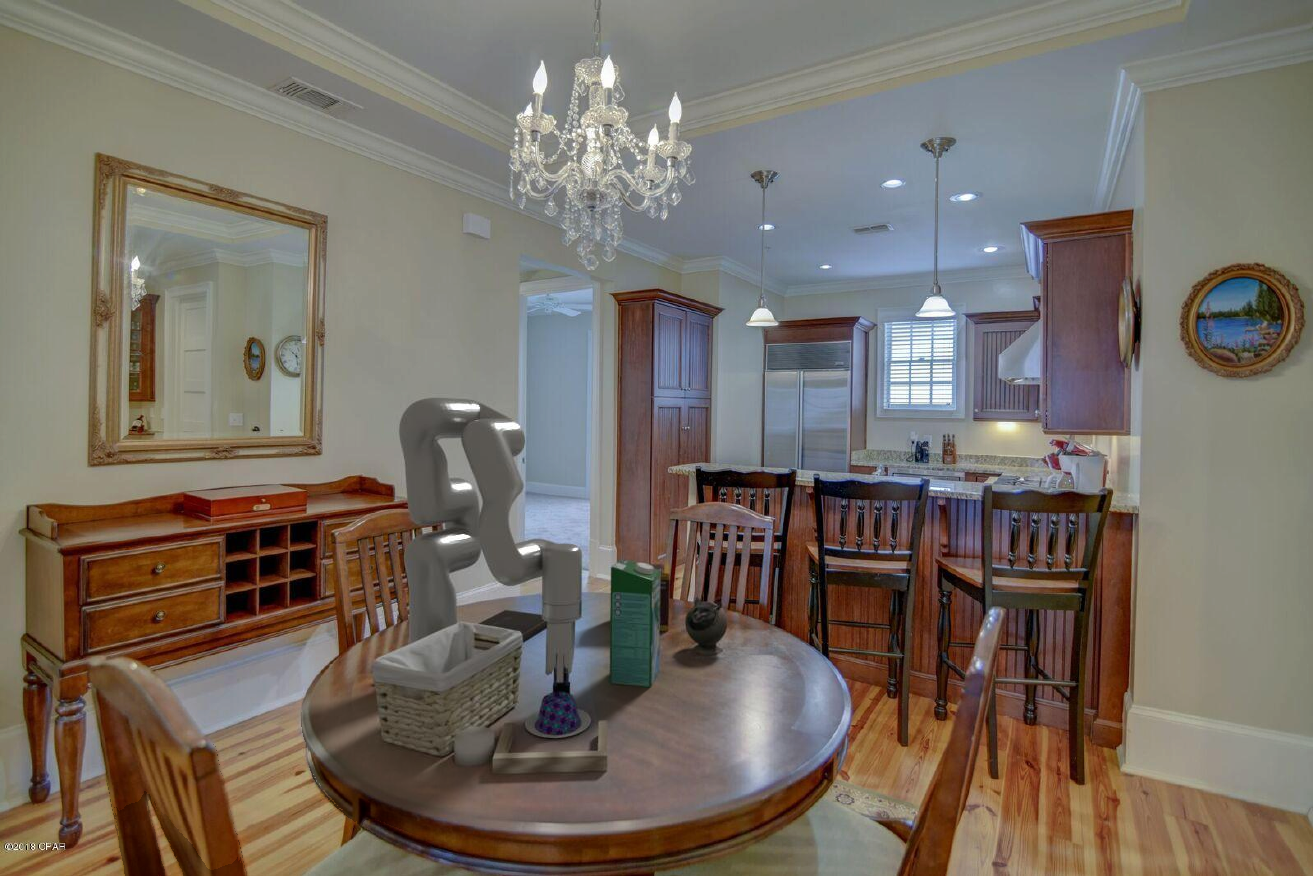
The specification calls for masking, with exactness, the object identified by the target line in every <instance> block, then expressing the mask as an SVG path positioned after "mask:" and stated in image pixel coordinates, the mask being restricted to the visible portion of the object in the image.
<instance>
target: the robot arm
mask: <svg viewBox="0 0 1313 876" xmlns="http://www.w3.org/2000/svg"><path fill="white" fill-rule="evenodd" d="M398 428H399V429H398V434H399V440H400V446H401V451H402V454H403V460H404V469H405V471H404V472H405V474H404V475H405V484H406V485H405V487H406V499H407V509H408V514H409V517H410V520H411V521H412V522H413V523H414V524H416V525H417V526H421V527H429V526H437V525H442V524H444V529H438V530H434V531H431V532H429V531H428V532H426V533H422V534H419V535H418V536H415V537H414V538H413V539H411V540H410V541H409V542H408V544H407V545H406V547H405V549H404V554H403V564H404V568H405V572H406V578H407V584H408V604H409V605H408V612H409V613H408V616H409V617H408V619H409V624H408V626H409V630H408V631H409V633H408V635H409V636H408V638H409V639H408V640H409V641H408V645H409V644H411V643H413V642H416V641H418V640H420V639H422V638H425V637H427V636H429V635H431V634H433V633H435V632H438V631H440V630H442V629H445V628H447V627H450V626H452V625H455V624H457V623H458V621H457V618H458V615H457V614H458V613H457V611H458V605H457V604H458V602H457V591H456V589H455V586H454V584H453V582H452V580H451V578H450V574H452V573H455V572H457V571H458V572H459V571H461V570H464V569H467V568H470V567H472V566H474V564H476V563H477V561H479V559H480V557H481V555H482V553H483V557H484V560H485V562H486V564H487V567H488V569H489V571H490V573H491V575H492V576H493V577H494V578H495V580H496V581H497V582H498V583H499V584H500V585H503V586H507V587H513V586H514V587H515V586H517V585H521V584H523V583H526V582H528V581H531V580H534V579H538V578H541V615H542V619H543V620H545V621H547V628H546V633H545V634H546V637H545V640H546V641H545V669H544V670H545V673H544V674H545V675H547V676H549V675H552V674H553V682H552V692H565V693H570V694H571V681H570V674H572V670H573V664H574V662H573V661H574V658H575V657H574V655H575V646H576V645H575V642H576V641H575V640H576V622H577V621H578V620H580V619H582V611H583V609H582V606H583V604H582V602H583V601H582V600H583V598H582V594H583V593H582V592H583V591H582V589H583V585H582V584H583V581H582V580H583V579H582V578H583V577H582V576H583V572H582V570H583V554H582V553H583V552H582V549H581V548H580V547H579V546H578V545H576V544H573V543H557V542H553V541H550V540H547V539H543V538H531V539H528V540H524V541H523V540H522V541H520V542H517V543H516V542H515V539H514V537H513V535H512V530H511V527H510V513H511V508H512V506H513V504H514V502H515V500H517V498H518V497H519V496H520V495H521V493H522V492H523V491H524V481H523V479H522V476H521V475H520V472H519V469H518V467H517V464H516V462H515V459H514V458H515V457H517V456H519V455H520V454H521V453H522V451H523V450H524V448H525V445H526V436H525V432H524V431H523V429H522V427H521V426H520V424H519V423H518V422H517V421H515V420H514V419H512V418H511V417H508V416H507V415H505V414H503V413H501V412H499V411H497V410H495V409H493V408H491V407H489V406H487V405H486V404H484V403H482V402H479V401H477V400H474V399H467V398H449V397H427V398H422V399H419V400H416V401H414V402H412V403H411V404H410V405H409V406H407V408H405V410H404V412H403V413H402V416H401V418H400V421H399V427H398ZM441 439H460V441H461V446H462V448H463V451H464V454H465V457H466V460H467V462H468V465H469V467H470V470H471V473H472V475H473V477H474V480H475V483H476V485H477V488H478V491H479V494H480V496H481V499H482V500H481V501H482V504H481V505H482V506H481V508H480V501H479V496H478V492H477V491H476V489H475V487H474V485H472V484H471V482H469V481H468V480H466V479H465V478H461V477H451V478H450V477H449V469H448V460H447V456H446V453H445V451H444V449H443V448H442V446H441V445H440V443H439V442H438V441H439V440H441Z"/></svg>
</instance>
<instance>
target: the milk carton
mask: <svg viewBox="0 0 1313 876" xmlns="http://www.w3.org/2000/svg"><path fill="white" fill-rule="evenodd" d="M660 581H661V570H658V569H655V568H654V567H653V566H651V565H649V563H645V562H636V561H633V560H629V559H626V558H625V557H624V558H623V557H622V558H620V559H619V560H618V561H616V563H614V564H613V565H612V566H611V567H610V621H609V623H610V626H609V629H610V631H609V635H610V636H609V684H618V685H626V686H627V685H629V686H638V687H646V688H647V687H648V688H651V687H652V686H653V683H654V682H655V679H656V678H657V675H658V674H659V672H660V648H661V647H660V646H661V645H660V644H661V643H660V642H661V637H660V636H661V631H660Z"/></svg>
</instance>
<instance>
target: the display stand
mask: <svg viewBox="0 0 1313 876" xmlns="http://www.w3.org/2000/svg"><path fill="white" fill-rule="evenodd" d="M500 732H501V734H500V736H499V739H498V742H497V744H496V747H495V749H494V756H493V758H492V775H507V774H508V775H511V774H512V775H513V774H536V773H537V774H544V773H545V774H546V773H547V774H548V773H575V772H576V773H579V772H581V773H582V772H585V773H586V772H607V771H608V720H598V734H597V735H598V736H597V737H598V738H597V740H598V742H597V750H584V751H583V750H581V751H579V750H578V751H542V752H538V751H537V752H536V751H535V752H510V749H511V746H512V742H513V739H514V722H504V724H503V727H502V731H500Z"/></svg>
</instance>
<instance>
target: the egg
mask: <svg viewBox="0 0 1313 876" xmlns="http://www.w3.org/2000/svg"><path fill="white" fill-rule="evenodd" d="M453 753H454V754H453V759H454V762H455V763H456V764H457V765H459V766H461V767H476V766H477V767H478V766H480V765H484V764H486V763H488V762H489V761H491V760H493V756H494V753H495V731H494V730H493V729H491V728H490V727H487V726H486V727H479V726H478V727H470V728H466V729H464V730H461V731H460V732H458V733H457V734H456V735H455V737H454V750H453Z"/></svg>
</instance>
